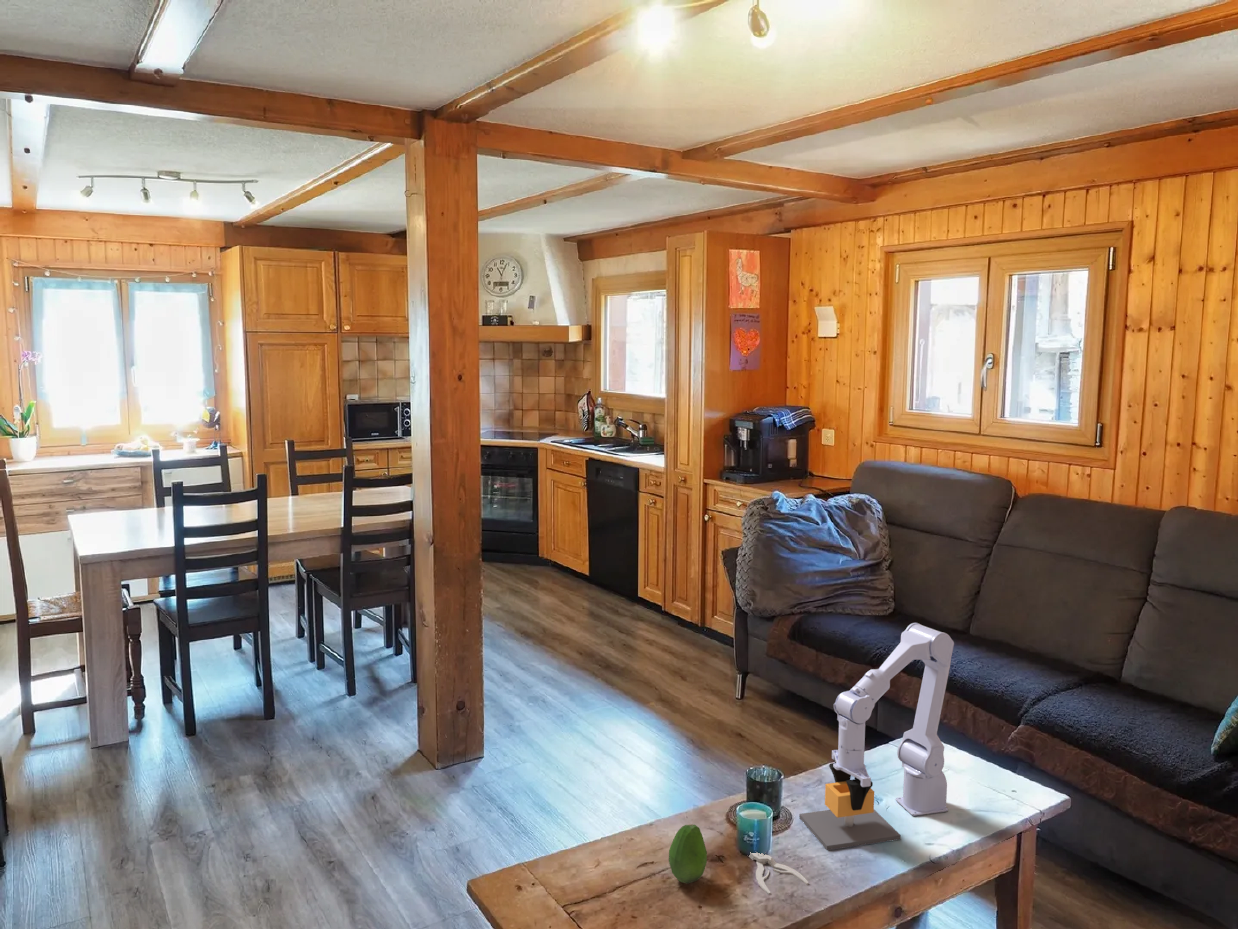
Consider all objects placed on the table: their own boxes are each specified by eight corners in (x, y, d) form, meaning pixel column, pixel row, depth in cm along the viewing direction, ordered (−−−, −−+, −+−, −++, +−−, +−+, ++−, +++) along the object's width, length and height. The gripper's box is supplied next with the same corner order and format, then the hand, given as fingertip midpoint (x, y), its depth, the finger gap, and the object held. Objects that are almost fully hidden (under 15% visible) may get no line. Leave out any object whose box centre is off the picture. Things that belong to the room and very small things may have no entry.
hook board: (869, 808, 212) (869, 784, 211) (900, 839, 199) (901, 814, 198) (799, 818, 208) (799, 793, 207) (826, 850, 194) (827, 824, 194)
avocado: (714, 880, 184) (715, 826, 182) (688, 896, 178) (688, 840, 177) (686, 864, 189) (687, 811, 188) (660, 878, 184) (660, 824, 183)
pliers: (767, 889, 178) (731, 850, 192) (767, 896, 179) (731, 857, 193) (809, 878, 182) (771, 841, 196) (809, 885, 182) (771, 848, 196)
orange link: (860, 799, 207) (860, 779, 206) (873, 812, 201) (874, 791, 200) (824, 804, 204) (825, 784, 204) (837, 817, 199) (838, 796, 198)
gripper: (820, 733, 207) (819, 789, 209) (850, 761, 193) (848, 820, 195) (848, 730, 208) (846, 785, 210) (880, 758, 194) (878, 816, 196)
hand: (849, 802), depth 202 cm, fingers closed on orange link, 6 cm apart
